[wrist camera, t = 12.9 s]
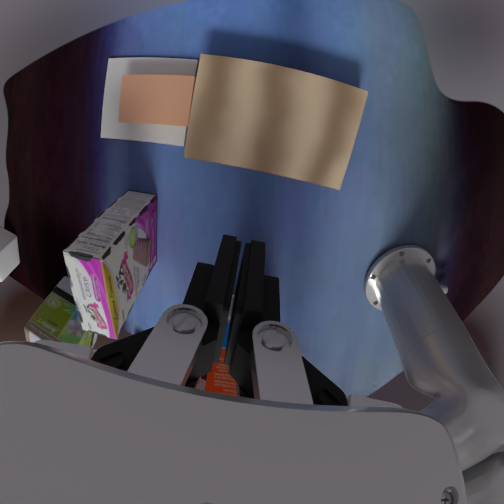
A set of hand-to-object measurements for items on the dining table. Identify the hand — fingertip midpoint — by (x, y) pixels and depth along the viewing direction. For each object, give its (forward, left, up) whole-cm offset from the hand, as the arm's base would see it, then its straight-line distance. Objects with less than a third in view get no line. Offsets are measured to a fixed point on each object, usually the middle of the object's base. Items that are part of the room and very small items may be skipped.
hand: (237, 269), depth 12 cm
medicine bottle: (+47, +24, -25) cm, 59 cm away
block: (+13, -4, -25) cm, 28 cm away
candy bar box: (+14, +14, -25) cm, 32 cm away
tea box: (+29, +36, -25) cm, 53 cm away
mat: (+15, -4, -25) cm, 30 cm away
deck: (-1, -4, -25) cm, 25 cm away
